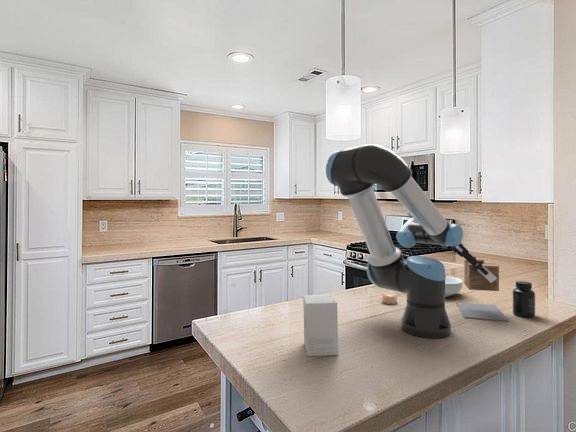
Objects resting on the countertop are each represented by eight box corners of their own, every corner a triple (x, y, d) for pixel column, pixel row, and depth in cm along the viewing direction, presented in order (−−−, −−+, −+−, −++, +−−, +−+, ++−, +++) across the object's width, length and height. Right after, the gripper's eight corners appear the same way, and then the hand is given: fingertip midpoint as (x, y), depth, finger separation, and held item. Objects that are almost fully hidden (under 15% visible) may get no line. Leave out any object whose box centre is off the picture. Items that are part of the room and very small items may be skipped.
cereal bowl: (451, 302, 141) (451, 285, 141) (414, 294, 154) (414, 278, 153) (469, 294, 152) (469, 278, 151) (433, 287, 165) (433, 273, 164)
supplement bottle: (530, 312, 126) (531, 280, 126) (538, 318, 120) (539, 285, 119) (509, 311, 128) (509, 279, 128) (516, 317, 122) (516, 284, 121)
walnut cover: (498, 291, 122) (499, 262, 122) (469, 289, 125) (469, 261, 125) (491, 284, 131) (492, 258, 131) (464, 283, 134) (464, 257, 134)
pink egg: (397, 304, 139) (397, 297, 138) (381, 303, 140) (381, 296, 140) (397, 300, 144) (397, 293, 144) (382, 299, 146) (382, 292, 146)
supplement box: (333, 342, 103) (332, 293, 103) (338, 355, 94) (338, 302, 94) (303, 343, 103) (302, 294, 102) (306, 356, 94) (305, 303, 93)
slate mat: (509, 321, 118) (509, 320, 118) (464, 317, 122) (464, 316, 122) (495, 306, 135) (495, 305, 135) (456, 303, 139) (456, 302, 139)
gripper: (455, 230, 119) (507, 277, 115) (447, 225, 141) (490, 264, 137) (439, 245, 121) (489, 291, 117) (433, 237, 143) (475, 276, 139)
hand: (490, 277), depth 127 cm, fingers closed on walnut cover, 10 cm apart
